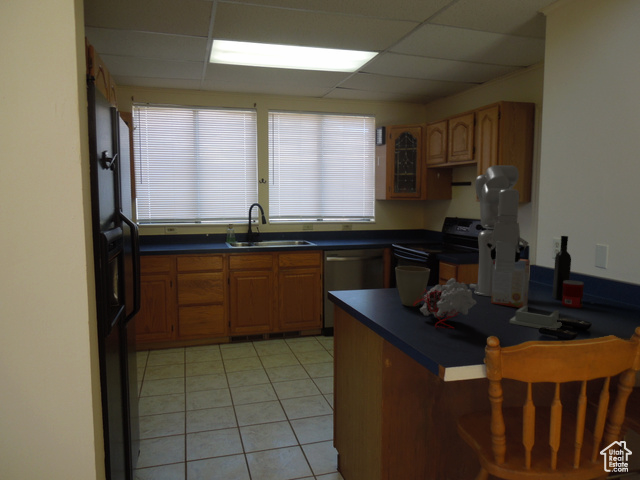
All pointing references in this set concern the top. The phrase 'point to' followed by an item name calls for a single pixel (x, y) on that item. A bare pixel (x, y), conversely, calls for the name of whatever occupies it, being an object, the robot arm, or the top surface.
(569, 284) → the canned food
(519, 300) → the cracker box
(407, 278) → the plant pot
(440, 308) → the molecular structure model
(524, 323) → the tray
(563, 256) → the wine bottle
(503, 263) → the supplement box
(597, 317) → the top surface
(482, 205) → the robot arm
